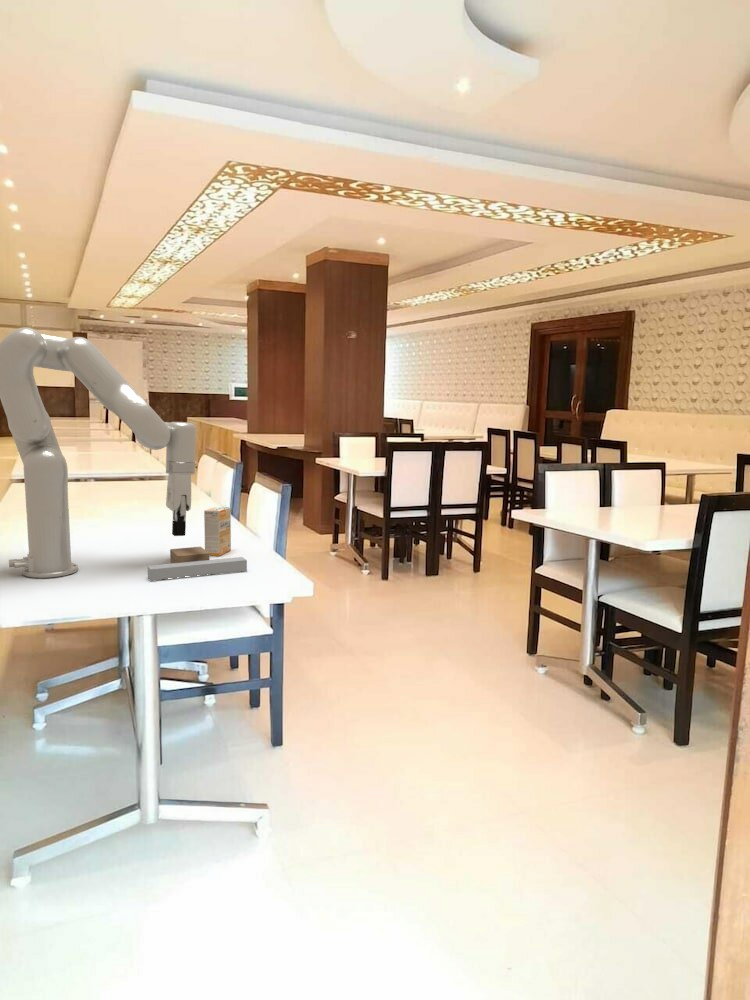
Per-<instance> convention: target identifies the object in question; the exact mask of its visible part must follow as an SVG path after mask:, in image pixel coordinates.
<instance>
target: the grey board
mask: <svg viewBox="0 0 750 1000" xmlns="http://www.w3.org/2000/svg"><path fill="white" fill-rule="evenodd" d="M247 562H248V560H247V559H246V558H245V557H243V556H236V557H225V558H218V559H209V560H203V561H193V562H182V563H171V562H170V563H164V564H161V563H160V564H151V565H147V578H148V580H149V579H150V580H151V581H150V580H149V581H150V582H154V581H153V580H159V581H162V580H161V579H168V578H177V577H185V576H197V575H207V574H208V576H210V575H209V574H217V575H221V574H220V573H227V574H231V573H230V572H237V573H242V572H241V571H246V572H248V563H247Z"/></svg>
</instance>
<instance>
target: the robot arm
mask: <svg viewBox="0 0 750 1000" xmlns="http://www.w3.org/2000/svg"><path fill="white" fill-rule="evenodd" d="M35 367H36V368H42V369H48V370H55V371H61V372H71V373H72V374H73V375H74V376H75V377H76V378H77V379H78V381H80V382H81V383H82V385H83V386H84V387H86V389H87V390H88V391H89V392H90V393H91V394H92V395H93V397H94V398H95V399H96V400H97V401H98V402H99V403H100V404H101V405H102V406H103V407H104V408H106V409H107V410H108V411H110V412H112V413H113V414H114V415H115V416H117V418H118V419H120V420H121V421H122V422H123V423H124V424H125V425H126V426H127V427H128V428H129V430H131V432H132V433H134V437H135V439H136V441H137V442H138V444H140V446H143V447H144V448H147V449H150V450H154V451H159V450H162V449H164V448H166V449H165V451H166V452H165V453H166V454H165V474H167V483H166V484H167V486H166V499H165V501H166V502H165V505H166V508H167V509H169V510H170V511H172V521H171V523H172V524H171V525H172V526H171V527H172V529H171V531H172V533H171V534H172V536H173V537H183V536H186V528H187V526H186V525H187V523H186V521H187V520H186V519H187V512H189V511H190V510H191V509H192V507H191V506H192V476H193V475H195V474H196V440H197V439H196V438H197V428H196V425H195V424H194V423H193V422H186V421H171V422H169V421H164V420H163V419H162V418H161V417H160V415H158V413H157V412H156V411H155V409H153V408H152V407H151V406H150V405H149V403H148V402H146V400H145V399H144V398H143V397H142V396H141V395H140V394H139V393H138V392H137V391H136V389H135V388H134V387H133V386H132V385H131V384H130V382H128V381H127V379H125V378H124V376H122V374H121V373H120V372H119V371H118V370H117V369H116V367H114V366H113V365H112V363H111V362H110V361H109V360H108V358H106V357H105V356H104V355H103V353H102V352H101V351H100V350H99V349H98V347H97V346H95V344H93V342H91V340H89V339H88V338H86V337H82V336H73V337H71V338H69V337H62V336H56V335H55V336H54V335H51V334H50V335H49V334H44V333H41V332H39V331H38V330H36V329H34V328H31V327H25V326H24V327H20V328H16V329H14V330H12V331H11V332H10V333H8V334H7V335H6V336H5V337H3V339H2V340H1V341H0V402H1V404H2V407H3V408H2V409H3V410H4V413H5V416H6V419H7V424H8V425H7V426H8V429H9V431H10V432H11V435H12V438H13V440H14V444H15V447H16V448H17V452H18V454H19V456H20V460H21V462H22V464H23V465H22V466H23V478H24V491H25V510H26V512H25V513H26V522H27V523H26V525H27V526H26V527H27V543H28V554H26V556H23V558H21V559H20V558H18V559H17V558H14V559H13V558H11V559H8V565H9V566H8V567H9V568H14V569H18V568H23V570H22V575H23V576H25V577H27V578H34V579H35V578H37V579H38V578H39V579H50V578H57V577H65V576H67V575H68V576H69V575H72V574H74V573H76V572H78V570H79V565H78V564H77V563H74V562H72V551H71V550H72V549H71V548H72V547H71V531H70V527H71V526H70V511H69V508H70V507H69V486H68V485H69V483H68V480H69V477H68V476H69V472H68V465H67V460H66V458H65V456H64V455H63V453H62V450H61V448H60V444H59V442H58V439H57V437H56V434H55V431H54V428H53V425H52V422H51V421H52V420H51V417H50V415H49V413H48V412H47V410H46V407H45V406H44V403H43V400H42V397H41V395H40V392H39V388H38V384H37V382H36V380H35V375H34V369H35Z"/></svg>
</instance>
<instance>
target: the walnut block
mask: <svg viewBox="0 0 750 1000" xmlns="http://www.w3.org/2000/svg"><path fill="white" fill-rule="evenodd" d="M169 552H170V554H169V556H170V564H171V563H182V562H193V561H203V560H210V556H209V553H208V552H207V551H206V550H205V548H203V547H202V546H194V547H181V548H170V550H169Z"/></svg>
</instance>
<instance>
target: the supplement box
mask: <svg viewBox="0 0 750 1000" xmlns="http://www.w3.org/2000/svg"><path fill="white" fill-rule="evenodd" d="M231 510H232V508H231V507H230V506H214V507H212V508H209V509H204V510H203V514H204V515H203V518H204V550H206V551H207V552H208V553H209V555H213V557H220V556H222V555H224V554H226V553H227V552H229V551H231V550H232V543H231V542H232V540H231V539H232V529H231V528H232V527H231V526H232V524H231V522H232V521H231V520H232V519H231V517H232V516H231V515H232V513H231Z"/></svg>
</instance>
